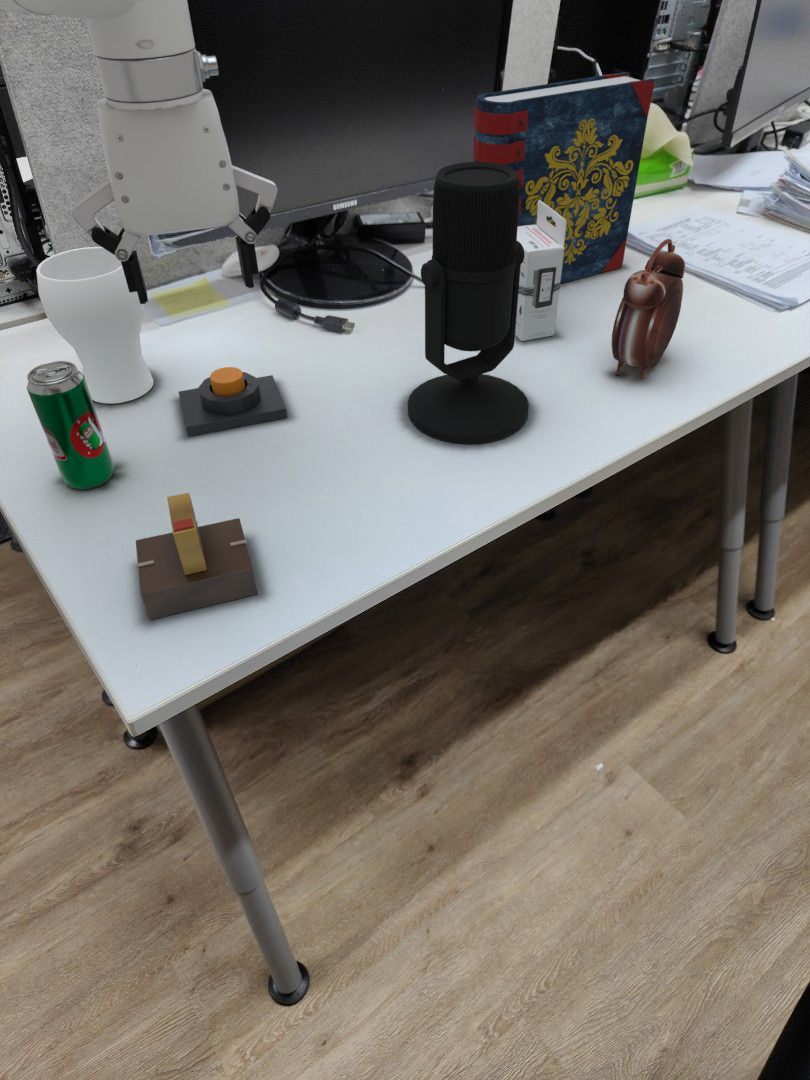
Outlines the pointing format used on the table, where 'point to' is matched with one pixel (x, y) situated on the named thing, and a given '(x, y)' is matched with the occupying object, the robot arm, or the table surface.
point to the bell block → (231, 406)
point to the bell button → (227, 381)
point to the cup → (97, 320)
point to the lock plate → (179, 592)
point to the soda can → (70, 424)
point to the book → (572, 158)
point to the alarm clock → (649, 310)
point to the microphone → (471, 306)
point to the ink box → (540, 274)
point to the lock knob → (186, 533)
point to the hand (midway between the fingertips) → (196, 290)
